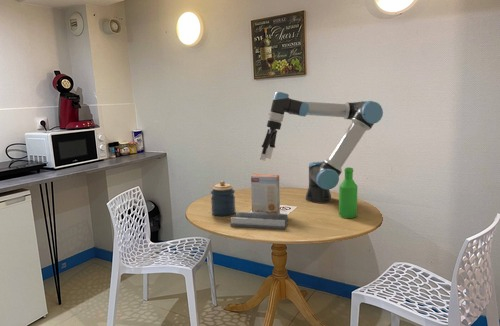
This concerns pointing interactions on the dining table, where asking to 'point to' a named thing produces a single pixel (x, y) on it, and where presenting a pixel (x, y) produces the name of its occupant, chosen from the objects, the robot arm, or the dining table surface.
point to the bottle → (348, 195)
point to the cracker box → (265, 193)
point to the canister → (223, 199)
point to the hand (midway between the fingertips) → (265, 159)
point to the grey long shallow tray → (260, 220)
